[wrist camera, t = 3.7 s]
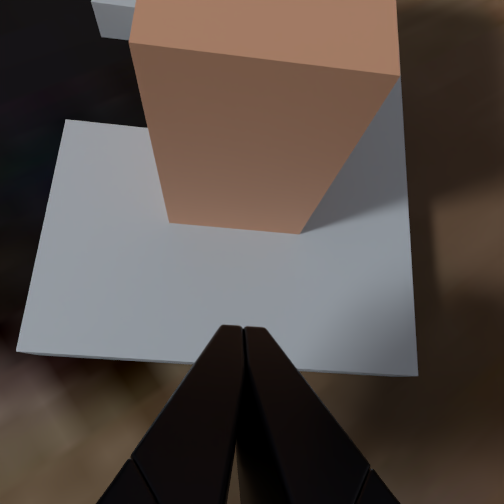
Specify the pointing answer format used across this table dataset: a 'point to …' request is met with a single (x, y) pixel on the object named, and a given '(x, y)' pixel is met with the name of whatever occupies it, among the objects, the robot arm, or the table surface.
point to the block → (258, 101)
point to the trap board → (221, 258)
